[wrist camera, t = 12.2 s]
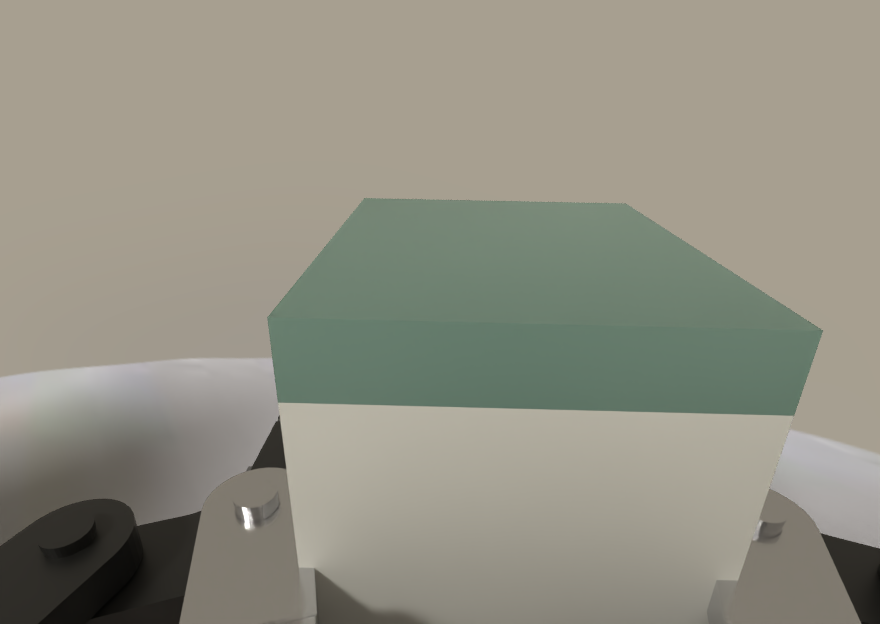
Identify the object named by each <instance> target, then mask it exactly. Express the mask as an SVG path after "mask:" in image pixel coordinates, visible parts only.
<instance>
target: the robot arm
mask: <svg viewBox="0 0 880 624" xmlns="http://www.w3.org/2000/svg"><path fill="white" fill-rule="evenodd" d="M707 616H708V622H709V624H880V549H879V548H875V547H871V546H867V545H863V544H859V543H856V542H852V541H848V540H844V539H840V538H836V537H832V536H828V535H825V534H822V533H820V531H819V529H818V528H817V526H816V524H815V522H814V521H813V520H812V519H811V517H810V516H809V515H808V514H807V513H806V512H805V511H804V510H803V509H802V508H800V507H799V506H798V505H797V504H795V503H794V502H792V501H791V500H789V499H788V498H786V497H785V496H783V495H781V494H779V493H777V492H775V491H773V490H770V489H769V491H768V494H767V497H766V499H765V502H764V505H763V508H762V511H761V514H760V517H759V520H758V523H757V526H756V529H755V532H754V535H753V538H752V541H751V543H750V546H749V549H748V552H747V555H746V558H745V561H744V564H743V567H742V570H741V573H740V576H739V579H738V581H736V580H716V584H715V587H714V590H713V593H712V596H711V599H710V602H709V605H708V609H707ZM0 624H319V613H318V598H317V589H316V580H315V571H314V568H299V565H298V557H297V549H296V541H295V533H294V525H293V517H292V509H291V502H290V494H289V486H288V478H287V470H286V462H285V454H284V446H283V438H282V430H281V422H280V415H279V417H278V421H276V423H275V425H274V427H273V428H272V430H271V432H270V434H269V436H268V438H267V440H266V442H265V444H264V445H263V447H262V449H261V451H260V453H259V455H258V457H257V459H256V461H255V462H254V464H253V466H252V468H251V470H250V471H247V472H244V473H241V474H238V475H236V476H234V477H232V478H230V479H228V480H227V481H225V482H224V483H222V484H221V485H220V486H218V487H217V488H216V489H215V490H214V491H213V492H212V493H211V494H210V495H209V497H208V498H207V500H206V501H205V503H204V505H203V508H202V511H200V512H197V513H194V514H190V515H186V516H182V517H177V518H173V519H168V520H163V521H159V522H154V523H149V524H144V525H140V526H137V524H136V521H135V517H134V514H133V512H132V510H131V509H130V507H129V506H127V505H126V504H124V503H122V502H120V501H117V500H112V499H93V500H87V501H82V502H78V503H74V504H71V505H68V506H65V507H62V508H60V509H58V510H55V511H53V512H51V513H49V514H47V515H45V516H44V517H42V518H40V519H38V520H37V521H35V522H34V523H32V524H31V525H29V526H28V527H26V528H25V529H24V530H22V531H21V532H19V533H18V534H17V535H15V536H14V537H13V538H11V539H10V540H8V541H7V542H6V543H4V544H3V545H1V546H0Z"/></svg>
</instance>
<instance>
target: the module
mask: <svg viewBox="0 0 880 624" xmlns="http://www.w3.org/2000/svg"><path fill="white" fill-rule="evenodd" d="M267 318H268V326H269V334H270V342H271V350H272V358H273V366H274V374H275V382H276V390H277V398H278V406H279V414H280V422H281V430H282V438H283V446H284V454H285V462H286V470H287V478H288V486H289V494H290V502H291V509H292V517H293V525H294V533H295V541H296V549H297V557H298V565H299V568H314V571H315V580H316V589H317V598H318V613H319V624H709V622H708V616H707V609H708V605H709V602H710V599H711V596H712V593H713V590H714V587H715V584H716V580H736V581H738V579H739V576H740V573H741V570H742V567H743V564H744V561H745V558H746V555H747V552H748V549H749V546H750V543H751V541H752V538H753V535H754V532H755V529H756V526H757V523H758V520H759V517H760V514H761V511H762V508H763V505H764V502H765V499H766V497H767V494H768V491H769V488H770V485H771V482H772V479H773V476H774V473H775V470H776V467H777V464H778V461H779V458H780V455H781V453H782V450H783V447H784V444H785V441H786V438H787V435H788V432H789V429H790V426H791V423H792V420H793V417H794V414H795V411H796V408H797V406H798V403H799V400H800V397H801V394H802V391H803V387H804V385H805V382H806V379H807V376H808V373H809V370H810V367H811V364H812V361H813V359H814V356H815V353H816V350H817V347H818V344H819V341H820V338H821V335H822V332H823V330H821V329H820V328H818V327H817V326H815V325H814V324H812V323H811V322H809V321H807V320H806V319H804V318H803V317H801V316H800V315H798V314H797V313H795V312H793V311H792V310H790V309H789V308H787V307H786V306H784V305H783V304H781V303H779V302H778V301H776V300H775V299H773V298H772V297H770V296H768V295H767V294H765V293H764V292H762V291H761V290H759V289H758V288H756V287H755V286H753V285H751V284H750V283H748V282H747V281H745V280H744V279H742V278H740V277H739V276H738V275H736V274H734V273H733V272H731V271H730V270H728V269H727V268H725V267H723V266H722V265H720V264H719V263H717V262H716V261H714V260H713V259H711V258H709V257H708V256H706V255H705V254H703V253H702V252H700V251H699V250H697V249H696V248H694V247H692V246H691V245H689V244H688V243H686V242H685V241H683V240H682V239H680V238H679V237H677V236H675V235H674V234H672V233H671V232H669V231H667V230H666V229H665V228H663V227H661V226H660V225H658V224H657V223H655V222H654V221H652V220H651V219H649V218H647V217H646V216H644V215H643V214H641V213H640V212H638V211H636V210H635V209H633V208H632V207H630V206H629V205H627V204H616V203H568V202H567V203H565V202H564V203H563V202H518V201H470V200H423V199H422V200H421V199H372V198H371V199H370V198H364V200H363V201H362V202H361V203H360V204H359V206H358V207H357V208H356V210H355V211H354V212H353V213H352V214H351V216H350V217H349V218H348V219H347V220H346V222H345V223H344V224H343V225H342V227H341V228H340V229H339V230H338V231H337V233H336V234H335V235H334V236H333V238H332V239H331V240H330V241H329V243H328V244H327V245H326V246H325V247H324V249H323V250H322V251H321V252H320V254H319V255H318V256H317V257H316V258H315V260H314V261H313V262H312V264H311V265H310V266H309V267H308V268H307V270H306V271H305V272H304V273H303V275H302V276H301V277H300V278H299V279H298V280H297V282H296V283H295V284H294V286H293V287H292V288H291V289H290V290H289V292H288V293H287V294H286V295H285V296H284V298H283V299H282V300H281V301H280V303H279V304H278V305H277V306H276V307H275V309H274V310H273V311H272V312H271V314H270V315H269V316H268V317H267Z"/></svg>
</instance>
